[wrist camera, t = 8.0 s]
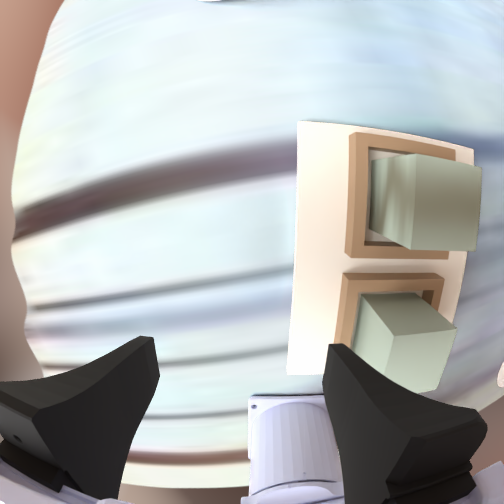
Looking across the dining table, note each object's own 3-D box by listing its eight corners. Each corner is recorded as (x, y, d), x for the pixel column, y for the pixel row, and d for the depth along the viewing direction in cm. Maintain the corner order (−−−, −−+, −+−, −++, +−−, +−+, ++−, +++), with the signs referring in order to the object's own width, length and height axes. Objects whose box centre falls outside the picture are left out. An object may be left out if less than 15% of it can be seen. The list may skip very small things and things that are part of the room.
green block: (424, 231, 18) (475, 251, 12) (368, 228, 18) (410, 249, 12) (427, 168, 17) (481, 167, 11) (371, 160, 17) (415, 153, 11)
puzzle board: (435, 355, 21) (472, 400, 15) (286, 367, 22) (293, 430, 15) (466, 149, 17) (526, 146, 10) (297, 123, 18) (315, 93, 11)
